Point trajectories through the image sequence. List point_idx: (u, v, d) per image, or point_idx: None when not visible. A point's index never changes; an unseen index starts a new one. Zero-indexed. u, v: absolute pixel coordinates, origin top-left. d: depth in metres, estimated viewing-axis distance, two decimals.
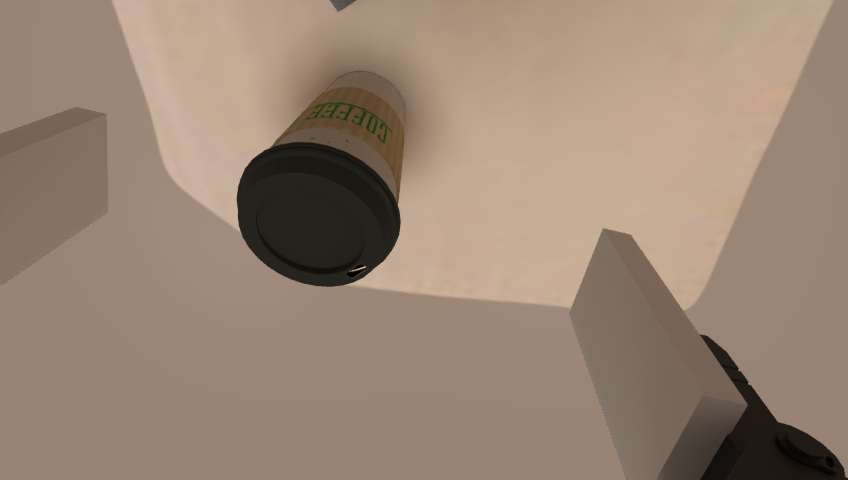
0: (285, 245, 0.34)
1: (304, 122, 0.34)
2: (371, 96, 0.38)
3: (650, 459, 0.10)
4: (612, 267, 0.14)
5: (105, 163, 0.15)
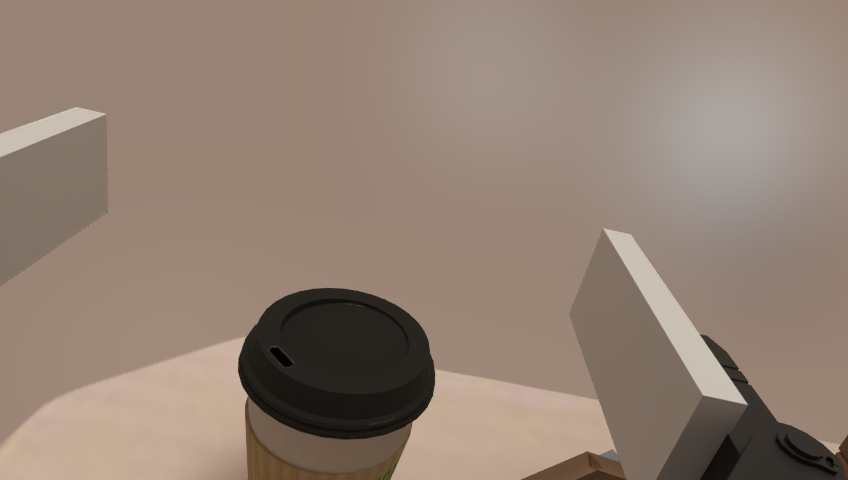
0: (322, 315, 0.30)
1: None
2: None
3: (650, 459, 0.10)
4: (612, 267, 0.14)
5: (105, 163, 0.15)
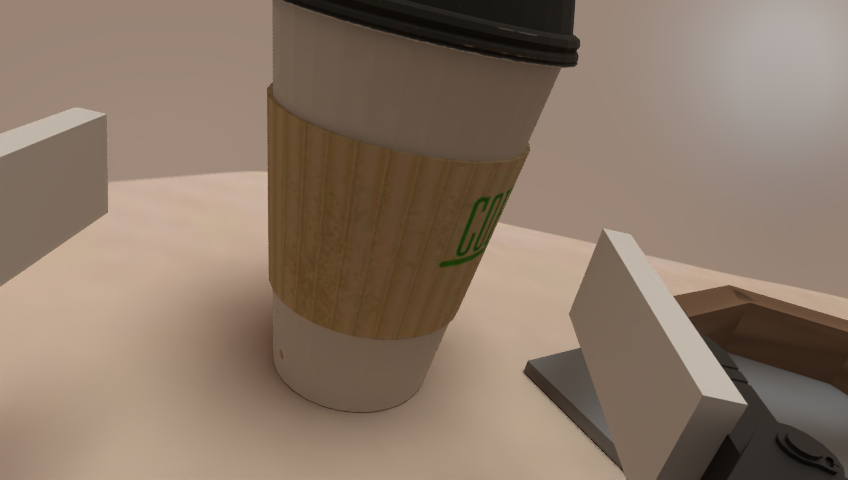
0: None
1: None
2: (458, 306, 0.20)
3: (650, 459, 0.10)
4: (612, 267, 0.14)
5: (105, 163, 0.15)
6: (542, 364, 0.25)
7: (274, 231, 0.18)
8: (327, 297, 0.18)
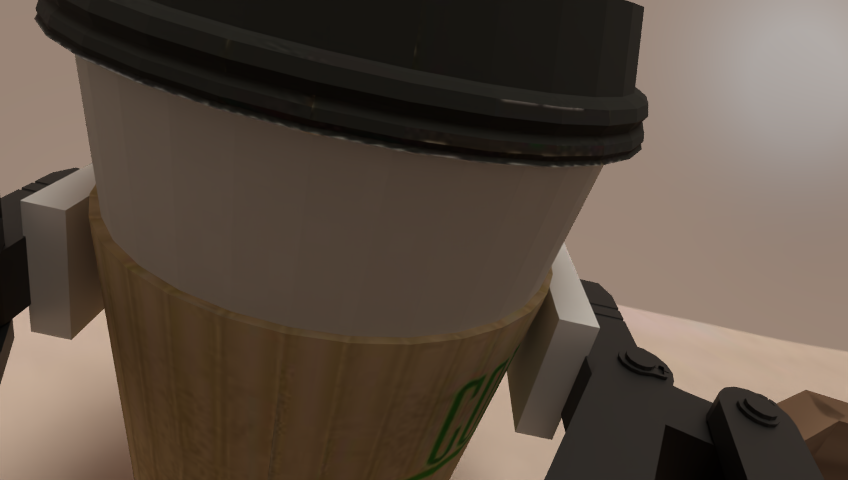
0: None
1: None
2: None
3: (526, 384, 0.11)
4: None
5: None
6: None
7: (123, 411, 0.11)
8: None
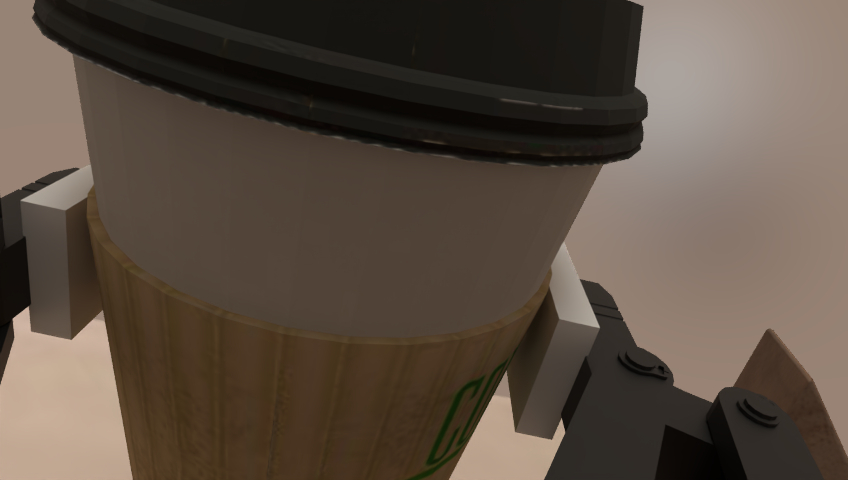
0: None
1: None
2: None
3: (526, 384, 0.11)
4: None
5: None
6: None
7: (121, 411, 0.11)
8: None
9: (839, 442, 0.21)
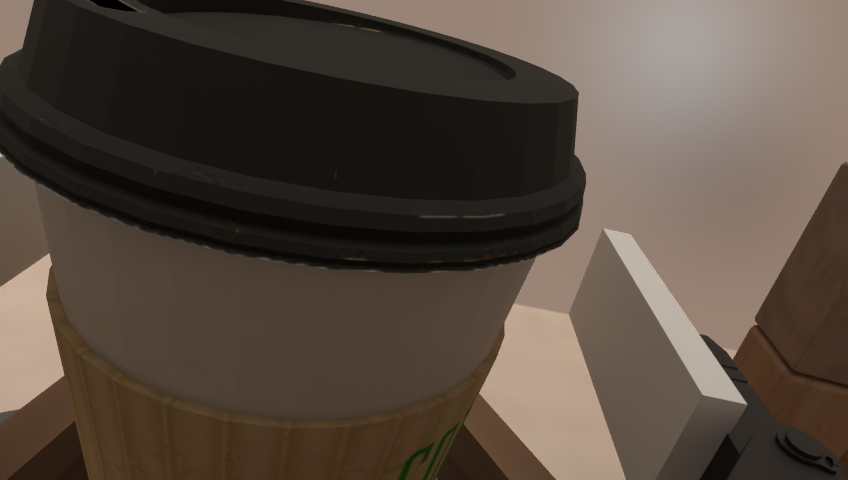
0: (277, 23, 0.11)
1: None
2: None
3: (650, 459, 0.10)
4: (612, 267, 0.14)
5: None
6: None
7: (87, 472, 0.11)
8: None
9: None
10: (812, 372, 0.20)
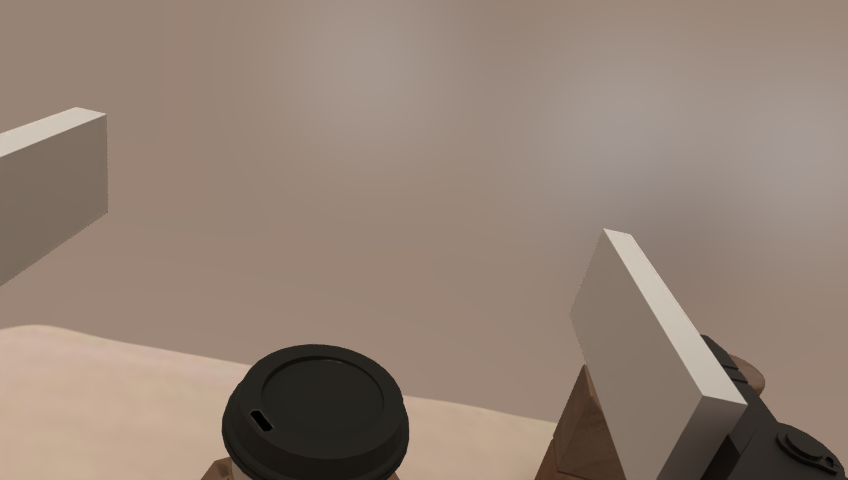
0: (303, 373, 0.31)
1: None
2: None
3: (650, 459, 0.10)
4: (612, 267, 0.14)
5: (105, 163, 0.15)
6: None
7: None
8: None
9: None
10: (566, 471, 0.40)
